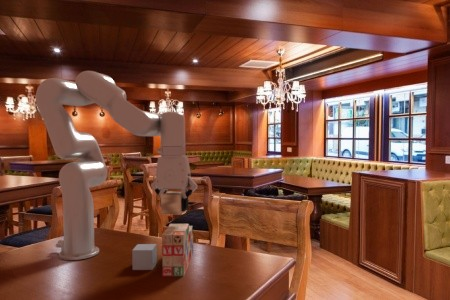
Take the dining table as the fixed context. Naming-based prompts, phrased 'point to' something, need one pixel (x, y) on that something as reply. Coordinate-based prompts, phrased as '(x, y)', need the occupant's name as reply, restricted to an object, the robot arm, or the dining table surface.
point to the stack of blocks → (176, 249)
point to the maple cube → (171, 203)
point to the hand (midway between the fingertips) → (174, 209)
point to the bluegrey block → (144, 256)
